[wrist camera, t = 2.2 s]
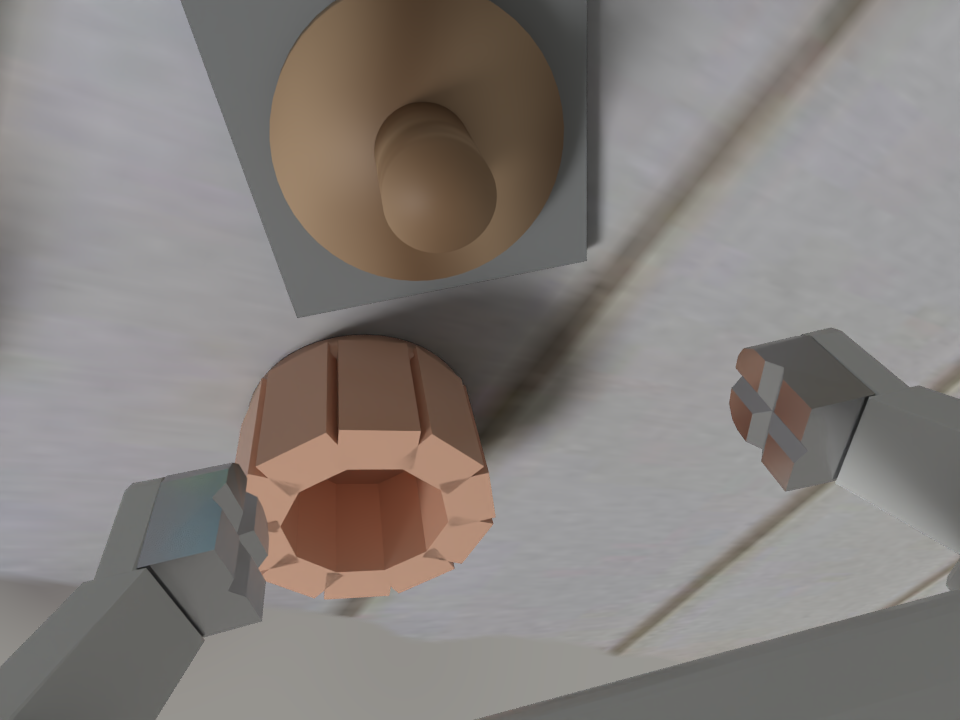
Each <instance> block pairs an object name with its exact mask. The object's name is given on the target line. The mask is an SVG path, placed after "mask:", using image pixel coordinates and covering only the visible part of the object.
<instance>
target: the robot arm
mask: <svg viewBox="0 0 960 720" xmlns="http://www.w3.org/2000/svg"><path fill="white" fill-rule="evenodd" d="M736 369H737V370H738V371H739V373H740V374H741V375H742V377H741V378H740V379H739V380H738V381H737V383H736V384H735V385H734V386H733V387H732V389H731V395H730V402H729V405H730V410H731V415H732V419H733V421H734V424H735V426H736V428H737V430H738V431H739V433H740V434H741V435H742V437H743V438H744V439H745V441H746V442H748V443H750V444H752V445H755V446H757V447H759V448H761V449H762V459H761V461H762V463H763V464H764V465H765V466H766V468H767V469H768V470H769V472H770V473H771V474H772V475H773V477H774V478H775V479H776V480H777V482H778V483H779V484H780V485H781V487H782V488H783V489H784V491H785V492H786V491H790V490H795V489H800V488H804V487H809V486H813V485H818V484H822V483H827V482H832V481H836V482H835V483H836V484H837V485H839V486H841V487H843V488H844V489H846V490H848V491H849V492H851V493H853V494H855V495H856V496H858V497H860V498H862V499H863V500H865V501H867V502H869V503H870V504H872V505H874V506H875V507H877V508H879V509H881V510H882V511H884V512H886V513H888V514H889V515H891V516H893V517H895V518H896V519H898V520H900V521H901V522H903V523H905V524H907V525H908V526H910V527H912V528H914V529H915V530H917V531H919V532H921V533H922V534H924V535H926V536H927V537H929V538H931V539H933V540H934V541H936V542H938V543H940V544H941V545H943V546H945V547H947V548H948V549H950V550H952V551H953V552H955V553H957V554H959V555H960V399H958V398H955V397H952V396H949V395H946V394H943V393H940V392H937V391H934V390H931V389H928V388H925V387H922V386H914V387H909V386H907V385H906V384H905V383H904V382H903V381H901V380H900V379H899V378H898V377H897V376H895V375H894V374H893V373H892V372H890V371H889V370H888V369H887V368H886V367H884V366H883V365H882V364H881V363H880V362H878V361H877V360H876V359H875V358H874V357H872V356H871V355H870V354H869V353H867V352H866V351H865V350H864V349H863V348H861V347H860V346H859V345H858V344H857V343H855V342H854V341H853V340H852V339H851V338H849V337H848V336H847V335H846V334H844V333H843V332H842V331H840V330H838V329H834V328H827V329H823V330H819V331H814V332H810V333H806V334H802V335H801V336H794V337H790V338H786V339H781V340H777V341H773V342H769V343H764V344H760V345H756V346H751V347H747V348H744V349H743V350H742V351H741V353H740V354H739V355H738V359H737V364H736ZM246 486H247V477H246V475H245V473H244V472H243V470H242V468H241V467H240V465H239V464H237V463H229V464H223V465H218V466H213V467H208V468H203V469H198V470H193V471H188V472H183V473H178V474H173V475H168V476H166V477H163V478H158V479H152V480H147V481H142V482H137V483H132V484H131V485H130V486H129V487H128V488H127V489H126V490H125V492H124V494H123V497H122V500H121V503H120V506H119V509H118V512H117V515H116V518H115V520H114V523H113V526H112V529H111V532H110V535H109V538H108V541H107V544H106V546H105V549H104V552H103V555H102V558H101V561H100V564H99V567H98V570H97V572H96V575H95V578H94V580H91V581H87V582H84V583H82V584H81V585H80V586H79V587H78V588H77V589H76V590H75V591H74V592H73V593H72V594H71V595H70V596H69V597H68V599H66V600H65V601H64V602H63V604H61V606H60V607H59V608H58V609H57V610H56V611H55V612H54V613H53V614H52V615H51V616H50V617H49V618H48V619H47V620H46V621H45V622H44V623H43V624H42V625H41V626H40V627H39V628H38V629H37V630H36V631H35V632H34V633H33V634H32V635H31V636H30V637H29V638H28V639H27V640H26V641H25V642H24V643H23V644H22V645H21V646H20V647H19V648H18V649H17V650H16V651H15V652H14V653H13V654H12V656H10V658H8V660H7V661H6V662H5V663H4V664H3V665H2V666H1V667H0V720H155V719H156V718H157V716H158V715H159V713H160V711H161V710H162V708H163V706H164V705H165V703H166V702H167V700H168V699H169V697H170V695H171V694H172V692H173V691H174V689H175V687H176V686H177V684H178V683H179V681H180V679H181V678H182V676H183V675H184V673H185V671H186V670H187V668H188V666H189V665H190V663H191V662H192V660H193V658H194V657H195V655H196V654H197V652H198V650H199V649H200V647H201V646H202V644H203V642H204V638H203V637H206V636H210V635H214V634H217V633H221V632H225V631H228V630H232V629H235V628H239V627H243V626H246V625H250V624H254V623H257V622H261V621H262V615H263V605H264V594H265V584H266V581H265V579H264V577H263V575H262V574H261V572H260V570H259V569H258V568H259V567H260V565H261V564H262V563H263V561H264V560H265V559H266V557H267V556H268V548H269V534H268V525H267V519H266V516H265V512H264V509H263V507H262V505H261V503H260V501H259V499H258V497H256V496H254V495H252V494H250V493H248V492H246ZM946 586H947V587H948V588H949V590H950V591H949V592H945V593H941V594H938V595H934V596H930V597H926V598H923V599H919V600H915V601H912V602H908V603H904V604H901V605H897V606H893V607H889V608H886V609H882V610H878V611H875V612H871V613H867V614H863V615H860V616H856V617H852V618H849V619H845V620H841V621H838V622H834V623H830V624H826V625H823V626H819V627H815V628H812V629H808V630H804V631H801V632H797V633H793V634H789V635H786V636H782V637H778V638H775V639H771V640H767V641H763V642H760V643H756V644H752V645H749V646H745V647H741V648H738V649H734V650H730V651H726V652H723V653H719V654H715V655H712V656H708V657H704V658H700V659H697V660H693V661H689V662H686V663H682V664H678V665H675V666H671V667H667V668H663V669H660V670H656V671H653V672H649V673H645V674H641V675H638V676H634V677H630V678H627V679H623V680H619V681H616V682H612V683H608V684H604V685H601V686H597V687H593V688H590V689H586V690H582V691H578V692H575V693H572V694H568V695H564V696H560V697H556V698H553V699H549V700H546V701H542V702H538V703H535V704H531V705H527V706H523V707H519V708H516V709H512V710H508V711H505V712H501V713H497V714H493V715H490V716H486V717H482V718H479V719H475V720H960V559H959V560H958V562H957V563H956V565H955V566H954V568H953V569H952V571H951V572H950V574H949V575H948V577H947V583H946Z"/></svg>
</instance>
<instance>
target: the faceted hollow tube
mask: <svg viewBox="0 0 960 720" xmlns="http://www.w3.org/2000/svg"><path fill="white" fill-rule="evenodd" d="M235 463H237V464H239V465H240V467H241V468H242V470H243V472H244V473H245V475H246V477H247V486H246V492H248V493H250V494H252V495H254V496H256V497H258V499H259V501H260V503H261V505H262V507H263V509H264V512H265V516H266V519H267V525H268V534H269V548H268V556H267V557H266V559H265V560H264V561H263V563H262V564H261V565H260V567H259V568H258V569H259V570H260V572H261V574H262V575H263V577H264V579H265V581H267V582H270V583H272V584H275V585H278V586H281V587H284V588H287V589H290V590H292V591H295V592H298V593H301V594H304V595H307V596H309V597H312V598H315V597H317V596H318V595H319V594H320V593H322V592H323V591H324V599H340V598H357V597H374V596H389V593H390V588H391V587H392V588H393V589H395V590H396V591H397V592H398V593H401V592H403V591H405V590H407V589H410V588H412V587H414V586H417V585H419V584H421V583H423V582H426V581H428V580H430V579H432V578H435V577H437V576H439V575H442V574H444V573H446V572H448V571H451V570H453V569H455V568H454V563H453V562H455V563H461V564H462V563H463V561H464V560H465V559H466V558H467V556H468V555H469V554H470V553H471V551H472V550H473V549H474V548H475V546H476V545H477V544H478V543H479V541H480V540H481V539H482V538H483V536H484V535H485V534H486V533H487V531H488V530H489V529H490V528H491V526H492V525H493V521H492V518H494V517H495V510H494V503H493V497H492V490H491V484H490V477H489V472H488V468H487V464H486V460H485V457H484V453H483V449H482V446H481V442H480V438H479V434H478V431H477V427H476V423H475V419H474V416H473V412H472V408H471V404H470V401H469V397H468V393H467V389H466V386H465V385H464V386H463V384H462V380H461V378H459V377H458V376H457V375H456V374H455V372H454V371H453V370H452V369H451V368H450V367H449V366H448V365H447V364H446V363H445V362H444V361H443V360H441V359H440V358H439V357H438V356H436V355H435V354H433V353H432V352H430V351H428V350H427V349H425V348H423V347H420V346H418V345H416V344H413V343H411V342H408V341H404V340H401V339H398V338H392V337H387V336H380V335H348V336H341V337H334V338H330V339H326V340H322V341H319V342H316V343H313V344H311V345H308V346H305V347H303V348H301V349H299V350H297V351H295V352H293V353H292V354H290V355H288V356H287V357H285V358H284V359H283V360H281V361H280V362H278V363H277V364H276V365H275V366H274V367H273V368H272V369H271V370H269V371H268V373H267V374H266V375H265V376H264V377H263V378H262V379H261V381H260V382H259V384H258V386H257V388H256V389H255V391H254V393H253V396H252V398H251V401H250V404H249V409H248V411H247V413H246V416H245V418H244V420H243V423H242V425H241V430H240V436H239V442H238V448H237V453H236V459H235Z"/></svg>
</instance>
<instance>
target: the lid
mask: <svg viewBox="0 0 960 720" xmlns="http://www.w3.org/2000/svg"><path fill="white" fill-rule="evenodd" d="M563 141H564V121H563V110H562V104H561V100H560V95H559V91H558V87H557V85H556V82H555V79H554V76H553V74H552V71H551V69H550V67H549V65H548V63H547V61H546V59H545V57H544V55H543V53H542V52H541V50H540V49H539V47H538V46H537V45H536V43H535V42H534V40H533V39H532V38H531V36H530V35H529V34H528V33H527V32H526V31H525V30H524V28H523V27H522V26H521V25H520V24H519V23H518V22H517V21H516V20H515V19H514V18H512V17H511V16H510V15H509V14H507V13H506V12H505V11H503V10H502V9H501V8H500V7H498V6H497V5H495V4H494V3H492V2H491V1H489V0H336V1H334V2H332V3H331V4H330V5H329V6H327V7H326V8H325V9H324V10H323V11H321V12H320V13H319V14H318V15H317V16H316V17H315V18H314V19H313V20H312V21H311V22H310V23H309V24H308V26H307V27H306V28H305V29H304V30H303V31H302V32H301V34H300V36H299V37H298V39H297V40H296V42H295V43H294V45H293V46H292V48H291V49H290V51H289V54H288V56H287V58H286V60H285V62H284V65H283V67H282V69H281V72H280V76H279V79H278V82H277V86H276V89H275V93H274V96H273V101H272V108H271V114H270V148H271V156H272V162H273V166H274V170H275V173H276V177H277V181H278V183H279V185H280V188H281V190H282V193H283V195H284V198H285V199H286V201H287V203H288V205H289V206H290V208H291V210H292V212H293V213H294V215H295V216H296V218H297V219H298V220H299V222H300V223H301V224H302V226H303V227H304V228H305V230H306V231H307V232H308V233H309V234H310V235H311V236H312V237H313V238H314V239H315V240H316V241H317V242H318V243H319V244H320V245H322V246H323V247H324V248H325V249H327V250H328V251H329V252H330V253H332V254H333V255H335V256H336V257H338V258H339V259H341V260H343V261H344V262H346V263H347V264H350V265H352V266H354V267H356V268H358V269H360V270H362V271H365V272H368V273H371V274H374V275H377V276H381V277H386V278H391V279H396V280H407V281H429V280H436V279H443V278H448V277H452V276H455V275H459V274H463V273H465V272H468V271H470V270H473V269H475V268H478V267H480V266H481V265H483V264H485V263H487V262H489V261H491V260H493V259H494V258H496V257H497V256H498V255H500V254H501V253H503V252H504V251H506V250H507V249H508V248H509V247H510V246H512V245H513V244H514V243H515V242H516V241H517V240H518V239H519V238H520V237H521V236H522V235H523V234H524V233H525V232H526V231H527V230H528V229H529V227H530V226H531V225H532V223H533V222H534V221H535V219H536V218H537V217H538V215H539V214H540V212H541V211H542V209H543V207H544V205H545V203H546V202H547V200H548V198H549V196H550V193H551V191H552V189H553V186H554V184H555V181H556V178H557V174H558V171H559V167H560V164H561V157H562V151H563Z"/></svg>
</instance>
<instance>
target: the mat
mask: <svg viewBox="0 0 960 720" xmlns="http://www.w3.org/2000/svg"><path fill="white" fill-rule="evenodd" d="M334 1H336V0H181V3H182V5H183V8H184V11H185V14H186V16H187V19H188V22H189V25H190V27H191V30H192V33H193V35H194V38H195V41H196V44H197V46H198V49H199V52H200V55H201V57H202V60H203V63H204V65H205V68H206V71H207V74H208V76H209V79H210V82H211V84H212V87H213V90H214V93H215V95H216V98H217V101H218V104H219V106H220V109H221V112H222V114H223V117H224V120H225V123H226V125H227V128H228V131H229V134H230V136H231V139H232V142H233V144H234V147H235V150H236V153H237V155H238V158H239V161H240V163H241V166H242V169H243V172H244V174H245V177H246V180H247V183H248V185H249V188H250V191H251V193H252V196H253V199H254V202H255V204H256V207H257V210H258V213H259V215H260V218H261V221H262V223H263V226H264V229H265V232H266V234H267V237H268V240H269V243H270V245H271V248H272V251H273V253H274V256H275V259H276V262H277V264H278V267H279V270H280V272H281V275H282V278H283V281H284V283H285V286H286V289H287V292H288V294H289V297H290V300H291V302H292V305H293V308H294V311H295V313H296V316H297V318H300V317H305V316H310V315H315V314H321V313H326V312H331V311H336V310H341V309H346V308H351V307H356V306H361V305H366V304H371V303H376V302H381V301H386V300H391V299H397V298H402V297H407V296H412V295H417V294H422V293H427V292H432V291H437V290H442V289H447V288H452V287H457V286H462V285H467V284H473V283H478V282H483V281H488V280H493V279H498V278H503V277H508V276H513V275H518V274H523V273H528V272H533V271H538V270H543V269H549V268H554V267H559V266H564V265H569V264H574V263H579V262H584V261H587V0H489V1H491V2H492V3H494V4H495V5H497V6H498V7H500V8H501V9H502V10H503V11H505V12H506V13H507V14H509V15H510V16H511V17H512V18H514V19H515V20H516V21H517V22H518V23H519V24H520V25H521V26H522V27H523V28H524V30H525V31H526V32H527V33H528V34H529V35H530V36H531V38H532V39H533V40H534V42H535V43H536V45H537V46H538V47H539V49H540V50H541V52H542V53H543V55H544V57H545V59H546V61H547V63H548V65H549V67H550V69H551V71H552V74H553V76H554V79H555V82H556V85H557V87H558V91H559V95H560V100H561V104H562V110H563V121H564V141H563V151H562V157H561V164H560V167H559V171H558V174H557V178H556V181H555V184H554V186H553V189H552V191H551V193H550V196H549V198H548V200H547V202H546V203H545V205H544V207H543V209H542V211H541V212H540V214H539V215H538V217H537V218H536V219H535V221H534V222H533V223H532V225H531V226H530V227H529V229H528V230H527V231H526V232H525V233H524V234H523V235H522V236H521V237H520V238H519V239H518V240H517V241H516V242H515V243H514V244H513V245H512V246H510V247H509V248H508V249H507V250H506V251H504V252H503V253H501V254H500V255H498V256H497V257H496V258H494V259H493V260H491V261H489V262H487V263H485V264H483V265H481V266H480V267H478V268H475V269H473V270H470V271H468V272H465V273H463V274H459V275H455V276H452V277H448V278H443V279H436V280H429V281H407V280H396V279H391V278H386V277H381V276H377V275H374V274H371V273H368V272H365V271H362V270H360V269H358V268H356V267H354V266H352V265H350V264H347V263H346V262H344V261H343V260H341V259H339V258H338V257H336V256H335V255H333V254H332V253H330V252H329V251H328V250H327V249H325V248H324V247H323V246H322V245H320V244H319V243H318V242H317V241H316V240H315V239H314V238H313V237H312V236H311V235H310V234H309V233H308V232H307V231H306V230H305V228H304V227H303V226H302V224H301V223H300V222H299V220H298V219H297V218H296V216H295V215H294V213H293V212H292V210H291V208H290V206H289V205H288V203H287V201H286V199H285V198H284V195H283V193H282V190H281V188H280V185H279V183H278V181H277V177H276V173H275V170H274V166H273V162H272V156H271V148H270V114H271V108H272V101H273V96H274V93H275V89H276V86H277V82H278V79H279V76H280V72H281V69H282V67H283V65H284V62H285V60H286V58H287V56H288V54H289V51H290V49H291V48H292V46H293V45H294V43H295V42H296V40H297V39H298V37H299V36H300V34H301V32H302V31H303V30H304V29H305V28H306V27H307V26H308V24H309V23H310V22H311V21H312V20H313V19H314V18H315V17H316V16H317V15H318V14H319V13H320V12H321V11H323V10H324V9H325V8H326V7H327V6H329V5H330V4H331V3H332V2H334Z"/></svg>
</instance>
